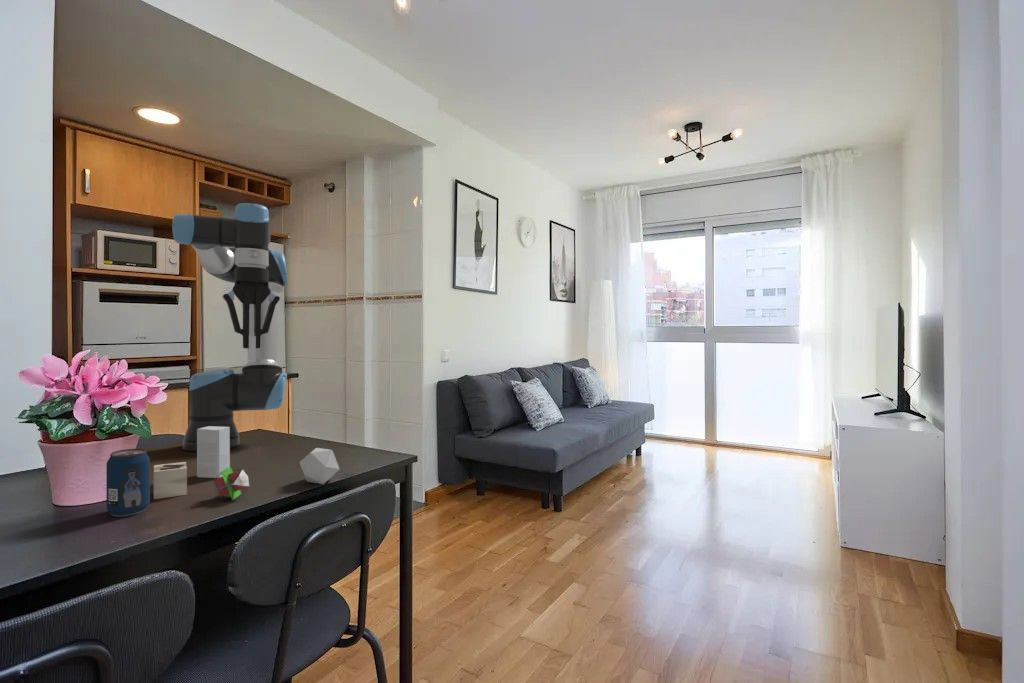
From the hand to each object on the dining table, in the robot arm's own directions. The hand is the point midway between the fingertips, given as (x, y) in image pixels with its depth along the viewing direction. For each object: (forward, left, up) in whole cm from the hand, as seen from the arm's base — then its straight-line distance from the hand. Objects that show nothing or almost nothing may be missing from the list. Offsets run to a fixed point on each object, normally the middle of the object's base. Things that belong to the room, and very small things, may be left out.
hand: (251, 361), depth 128 cm
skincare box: (-3, -8, -29) cm, 30 cm away
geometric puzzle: (+17, -6, -29) cm, 34 cm away
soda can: (+16, -24, -29) cm, 41 cm away
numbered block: (+7, -17, -29) cm, 34 cm away
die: (+15, +13, -29) cm, 35 cm away
